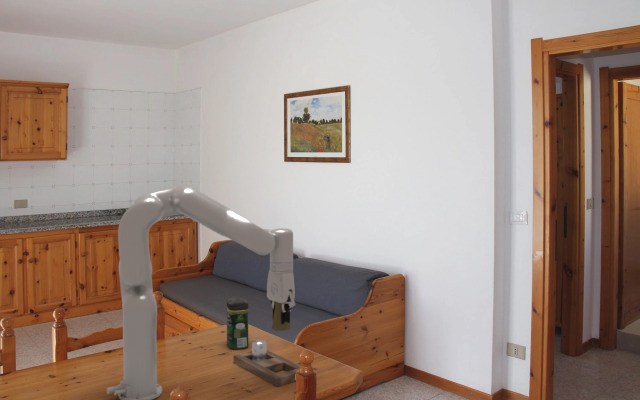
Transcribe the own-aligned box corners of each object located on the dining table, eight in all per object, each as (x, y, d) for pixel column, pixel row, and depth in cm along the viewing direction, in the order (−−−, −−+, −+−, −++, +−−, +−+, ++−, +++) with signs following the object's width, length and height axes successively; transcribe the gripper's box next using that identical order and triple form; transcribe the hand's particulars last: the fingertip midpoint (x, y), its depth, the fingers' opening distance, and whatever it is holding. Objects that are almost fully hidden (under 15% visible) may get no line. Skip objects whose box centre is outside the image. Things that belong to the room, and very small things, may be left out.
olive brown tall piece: (287, 331, 176) (288, 297, 175) (269, 330, 177) (269, 296, 177) (292, 326, 182) (292, 293, 181) (275, 324, 183) (275, 292, 183)
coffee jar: (224, 342, 213) (224, 295, 212) (244, 340, 216) (245, 294, 215) (229, 350, 204) (229, 301, 203) (250, 348, 207) (250, 300, 205)
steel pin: (257, 367, 187) (257, 344, 187) (249, 363, 191) (249, 341, 191) (269, 364, 190) (269, 342, 190) (261, 360, 194) (261, 338, 194)
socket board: (276, 386, 171) (276, 378, 171) (233, 362, 192) (233, 355, 192) (308, 377, 179) (308, 369, 179) (263, 355, 200) (263, 348, 200)
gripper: (257, 264, 182) (257, 318, 184) (287, 272, 170) (286, 330, 171) (276, 261, 187) (276, 314, 188) (306, 269, 174) (305, 325, 175)
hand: (281, 321), depth 180 cm, fingers closed on olive brown tall piece, 4 cm apart
